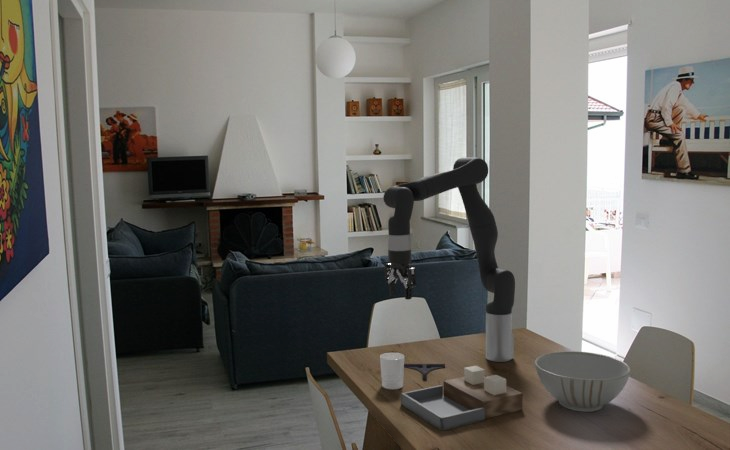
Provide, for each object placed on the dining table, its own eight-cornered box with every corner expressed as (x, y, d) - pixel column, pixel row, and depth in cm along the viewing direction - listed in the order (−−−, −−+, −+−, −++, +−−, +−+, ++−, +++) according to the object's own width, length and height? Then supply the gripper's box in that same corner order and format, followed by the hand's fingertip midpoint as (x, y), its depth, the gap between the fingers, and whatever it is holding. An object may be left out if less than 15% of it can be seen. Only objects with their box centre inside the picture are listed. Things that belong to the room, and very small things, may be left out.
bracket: (403, 381, 217) (403, 373, 217) (404, 367, 232) (404, 359, 231) (446, 382, 216) (446, 374, 216) (444, 368, 231) (444, 360, 230)
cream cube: (475, 377, 203) (475, 365, 202) (484, 382, 199) (484, 369, 198) (464, 380, 201) (464, 367, 200) (472, 384, 197) (472, 371, 196)
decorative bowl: (581, 429, 176) (582, 386, 174) (515, 397, 199) (515, 359, 198) (650, 410, 188) (651, 369, 187) (580, 382, 211) (580, 346, 210)
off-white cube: (496, 387, 194) (496, 374, 194) (506, 392, 190) (506, 379, 190) (484, 390, 192) (484, 377, 192) (493, 395, 188) (493, 381, 188)
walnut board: (480, 388, 207) (480, 373, 207) (522, 409, 190) (522, 393, 189) (443, 396, 201) (443, 380, 201) (483, 419, 183) (483, 401, 183)
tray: (441, 395, 202) (441, 385, 201) (484, 420, 183) (484, 408, 182) (401, 404, 195) (401, 393, 195) (441, 430, 176) (441, 418, 176)
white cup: (407, 383, 214) (407, 353, 213) (400, 391, 206) (400, 360, 205) (384, 380, 216) (384, 351, 215) (377, 388, 209) (376, 358, 208)
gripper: (422, 249, 208) (423, 299, 210) (396, 244, 220) (397, 292, 222) (403, 251, 204) (404, 302, 206) (377, 247, 216) (378, 295, 218)
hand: (400, 297), depth 214 cm, fingers open, 8 cm apart
